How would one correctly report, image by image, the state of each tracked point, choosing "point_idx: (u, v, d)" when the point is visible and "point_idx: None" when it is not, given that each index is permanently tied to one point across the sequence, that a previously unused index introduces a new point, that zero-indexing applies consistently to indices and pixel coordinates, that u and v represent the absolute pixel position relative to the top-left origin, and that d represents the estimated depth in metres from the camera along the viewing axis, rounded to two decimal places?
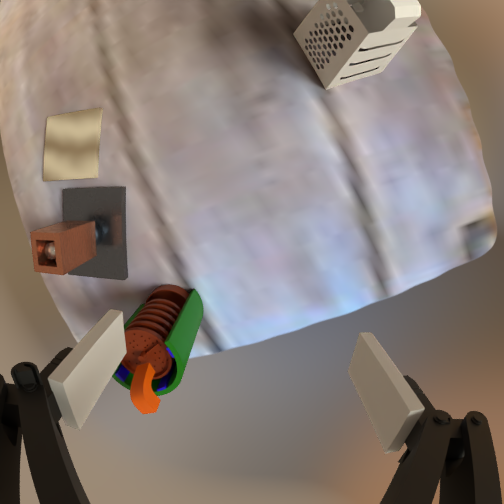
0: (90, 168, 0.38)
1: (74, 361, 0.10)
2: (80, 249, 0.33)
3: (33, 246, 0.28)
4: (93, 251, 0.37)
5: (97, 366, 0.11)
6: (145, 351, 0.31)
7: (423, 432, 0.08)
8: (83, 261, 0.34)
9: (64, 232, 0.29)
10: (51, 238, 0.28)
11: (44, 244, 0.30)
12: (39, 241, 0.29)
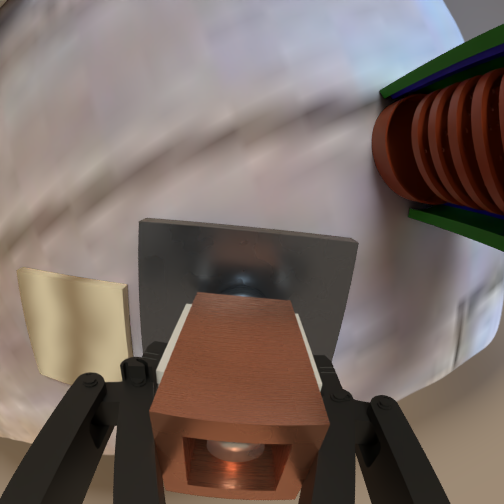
0: (106, 298, 0.19)
1: None
2: (256, 340, 0.11)
3: (211, 493, 0.08)
4: (277, 305, 0.15)
5: None
6: None
7: None
8: (297, 336, 0.12)
9: (163, 387, 0.08)
10: (175, 443, 0.07)
11: None
12: (200, 472, 0.08)
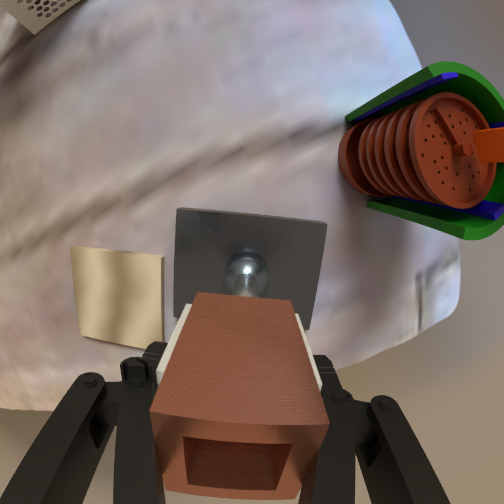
0: (147, 265, 0.28)
1: None
2: (256, 339, 0.11)
3: (211, 493, 0.08)
4: (277, 304, 0.15)
5: None
6: (452, 144, 0.13)
7: None
8: (297, 336, 0.12)
9: (163, 387, 0.08)
10: (175, 442, 0.07)
11: (218, 454, 0.10)
12: (200, 471, 0.08)
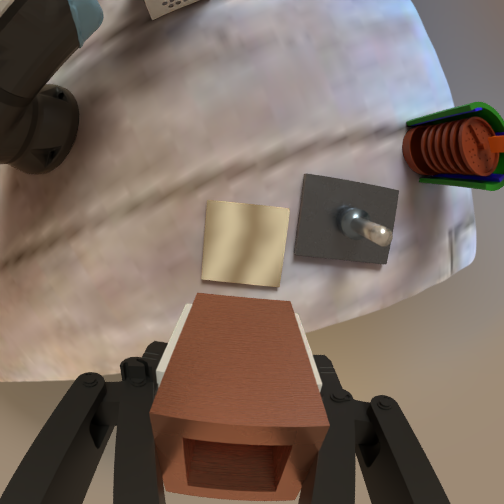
0: (278, 214, 0.39)
1: None
2: (256, 341, 0.11)
3: (211, 494, 0.08)
4: (277, 306, 0.15)
5: None
6: (477, 143, 0.24)
7: None
8: (297, 337, 0.12)
9: (163, 389, 0.08)
10: (175, 444, 0.07)
11: (218, 455, 0.10)
12: (201, 473, 0.08)
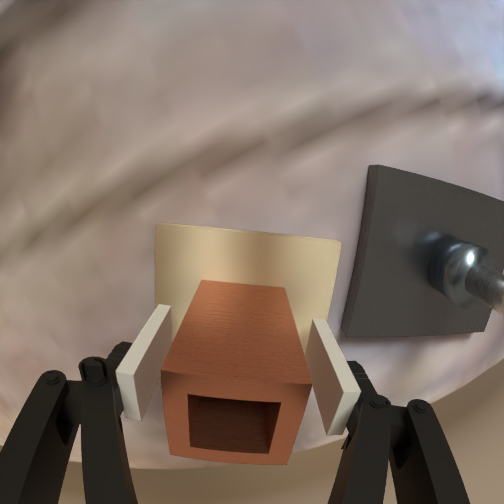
0: (316, 256, 0.17)
1: (138, 353, 0.11)
2: (252, 318, 0.13)
3: (211, 456, 0.10)
4: (272, 291, 0.17)
5: (154, 358, 0.13)
6: None
7: (361, 419, 0.09)
8: (288, 316, 0.14)
9: (172, 352, 0.10)
10: (181, 401, 0.09)
11: (217, 421, 0.11)
12: (202, 436, 0.10)
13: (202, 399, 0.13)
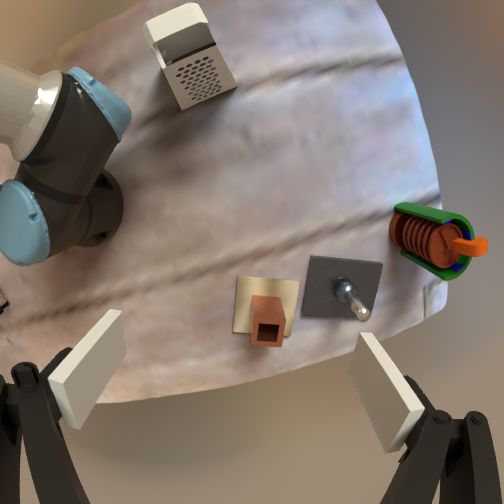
0: (290, 287, 0.52)
1: (74, 361, 0.10)
2: (271, 306, 0.48)
3: (261, 344, 0.45)
4: (276, 298, 0.52)
5: (97, 366, 0.11)
6: (444, 243, 0.37)
7: (423, 432, 0.08)
8: (281, 306, 0.49)
9: (254, 314, 0.45)
10: (257, 325, 0.44)
11: (262, 335, 0.47)
12: (259, 338, 0.46)
13: None
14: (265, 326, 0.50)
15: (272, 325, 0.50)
